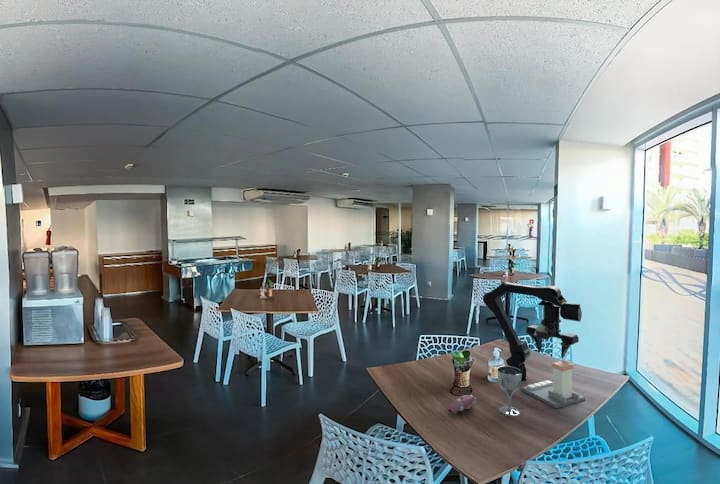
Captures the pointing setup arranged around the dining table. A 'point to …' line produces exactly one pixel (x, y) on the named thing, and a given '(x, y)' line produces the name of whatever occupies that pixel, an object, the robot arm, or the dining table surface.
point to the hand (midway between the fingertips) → (550, 354)
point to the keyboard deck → (551, 394)
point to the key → (562, 378)
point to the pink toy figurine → (463, 403)
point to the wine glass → (509, 386)
